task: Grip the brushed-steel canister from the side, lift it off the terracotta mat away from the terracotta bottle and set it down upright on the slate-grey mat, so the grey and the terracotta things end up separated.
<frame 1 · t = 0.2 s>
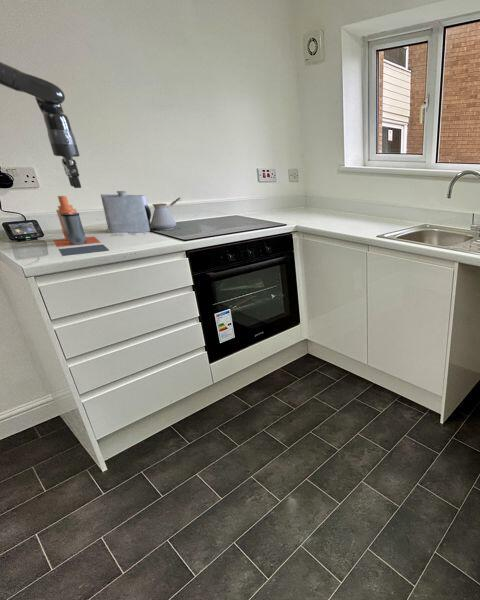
hand: (76, 187, 140), 24 cm above the countertop, tool pointing down, fingers open, 8 cm apart
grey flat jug: (132, 229, 182), on the countertop
coffee pot: (171, 227, 191), on the countertop
grey mat: (84, 250, 140), on the countertop
terracotta bottle: (75, 239, 155), resting on terracotta mat
hip flask: (131, 232, 175), on the countertop
terracotta mat: (77, 242, 152), on the countertop
steel canister: (78, 243, 148), resting on terracotta mat
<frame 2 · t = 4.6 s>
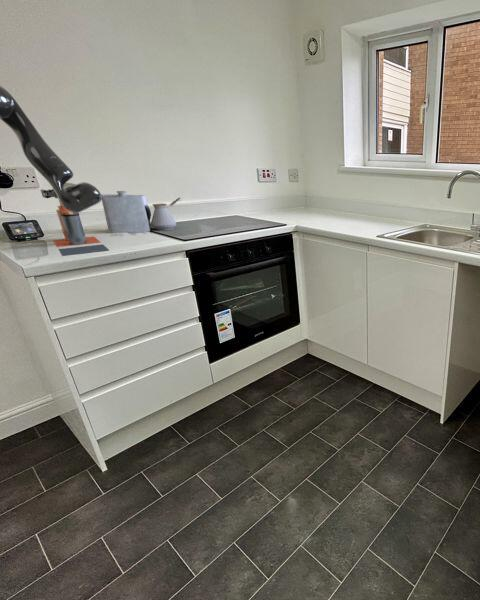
hand: (66, 192, 133), 22 cm above the countertop, tool horizontal, fingers open, 8 cm apart
nothing on the countertop moved.
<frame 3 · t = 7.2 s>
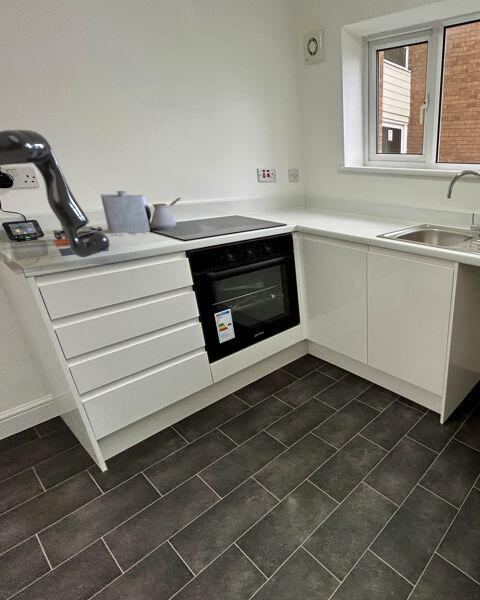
hand: (76, 230, 140), 7 cm above the countertop, tool horizontal, fingers open, 8 cm apart
nothing on the countertop moved.
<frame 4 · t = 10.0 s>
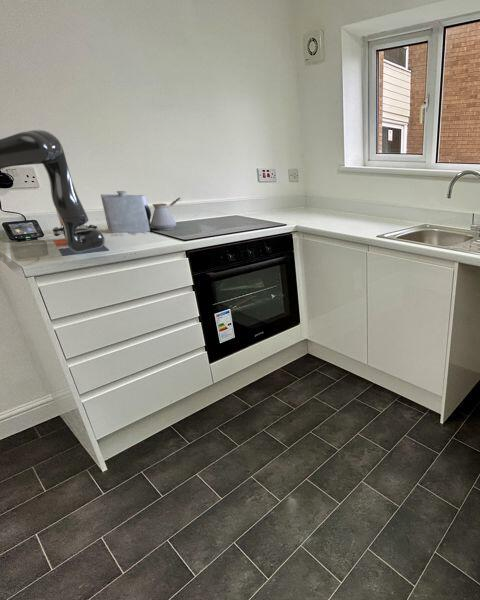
hand: (73, 227, 148), 7 cm above the countertop, tool horizontal, fingers closed on steel canister, 5 cm apart
steel canister: (78, 243, 148), point 1 cm above the countertop, touching gripper, terracotta mat
everything else where it was.
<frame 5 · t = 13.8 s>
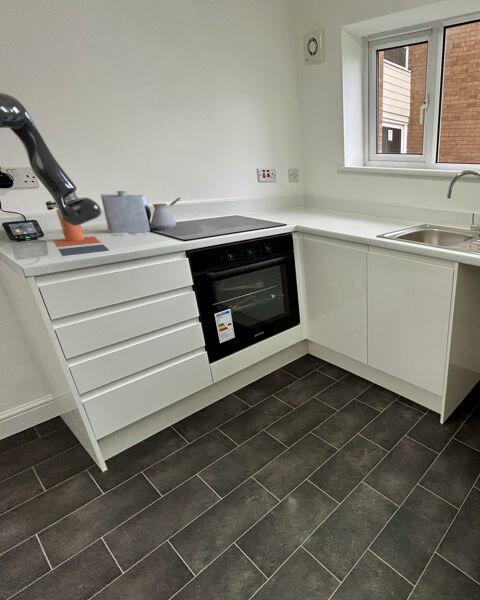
hand: (68, 202, 138), 18 cm above the countertop, tool horizontal, fingers closed on steel canister, 5 cm apart
steel canister: (73, 219, 138), point 12 cm above the countertop, touching gripper
everything else where it was.
when the fingers open (7 cm above the countertop, at t = 18.0 s): steel canister stays where it is, resting on grey mat.
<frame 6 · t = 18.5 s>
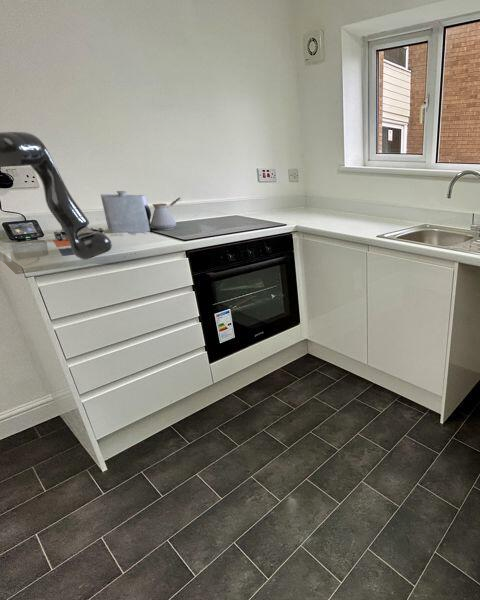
hand: (77, 231, 138), 7 cm above the countertop, tool horizontal, fingers open, 8 cm apart
steel canister: (84, 249, 139), resting on grey mat
everything else where it was.
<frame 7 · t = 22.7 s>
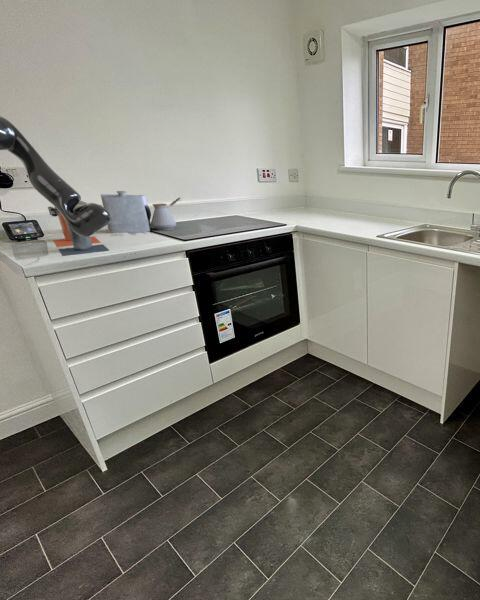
hand: (74, 207, 126), 18 cm above the countertop, tool horizontal, fingers open, 8 cm apart
nothing on the countertop moved.
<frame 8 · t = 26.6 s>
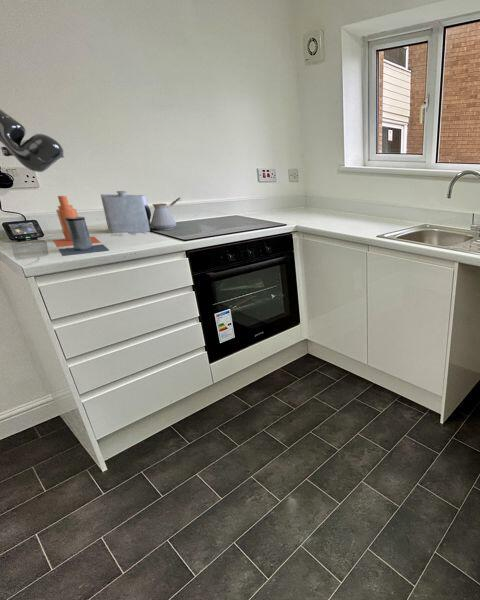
hand: (32, 152, 119), 36 cm above the countertop, tool horizontal, fingers open, 8 cm apart
nothing on the countertop moved.
at the end: steel canister inside the target area (0.1 cm from its centre), point 0.5 cm above the countertop; steel canister tilted 0°; terracotta bottle inside the target area (0.0 cm from its centre), point 0.5 cm above the countertop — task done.
